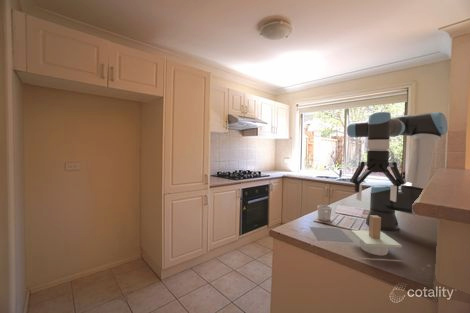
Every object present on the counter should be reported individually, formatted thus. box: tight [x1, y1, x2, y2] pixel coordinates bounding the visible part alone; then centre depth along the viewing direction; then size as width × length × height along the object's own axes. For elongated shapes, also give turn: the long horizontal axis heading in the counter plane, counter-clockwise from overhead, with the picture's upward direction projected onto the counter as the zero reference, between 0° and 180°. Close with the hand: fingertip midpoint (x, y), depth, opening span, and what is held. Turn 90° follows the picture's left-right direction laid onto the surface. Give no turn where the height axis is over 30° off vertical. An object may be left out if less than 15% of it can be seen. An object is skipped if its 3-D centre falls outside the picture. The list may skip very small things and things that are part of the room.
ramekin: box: [359, 240, 390, 256], centre depth 90 cm, size 11×11×5 cm
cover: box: [350, 215, 402, 248], centre depth 90 cm, size 13×13×10 cm
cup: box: [316, 204, 333, 222], centre depth 126 cm, size 11×8×8 cm
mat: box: [309, 226, 354, 243], centre depth 106 cm, size 16×16×1 cm
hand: (375, 200), depth 89 cm, fingers open, 13 cm apart
